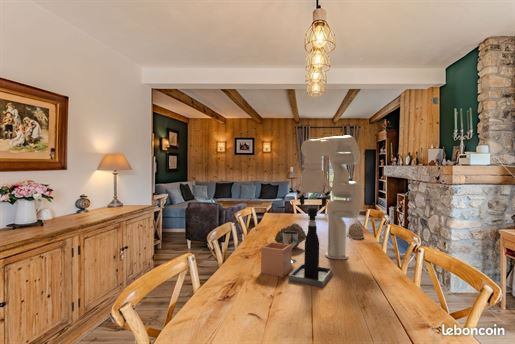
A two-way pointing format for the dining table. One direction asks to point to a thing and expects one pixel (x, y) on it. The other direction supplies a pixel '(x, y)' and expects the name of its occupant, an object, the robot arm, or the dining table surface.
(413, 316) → the dining table surface
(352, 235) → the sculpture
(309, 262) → the wine bottle
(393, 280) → the dining table surface
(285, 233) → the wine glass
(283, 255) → the box
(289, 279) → the tray
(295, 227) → the rock
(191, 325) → the dining table surface
